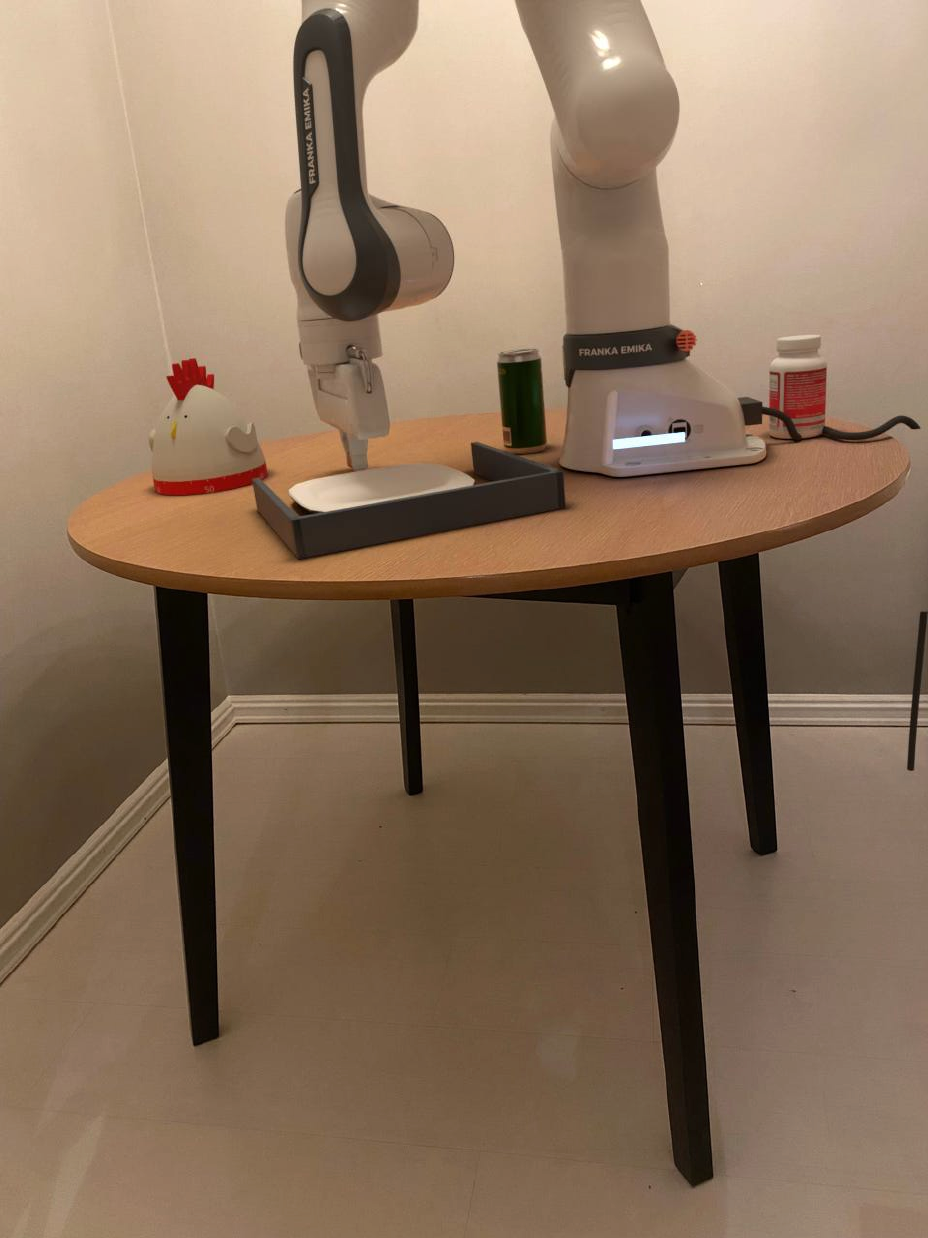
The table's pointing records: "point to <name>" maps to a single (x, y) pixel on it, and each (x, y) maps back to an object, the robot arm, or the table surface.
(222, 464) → the kitchen timer
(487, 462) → the tray
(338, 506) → the plate
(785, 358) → the pill bottle
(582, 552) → the table surface
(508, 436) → the beer can
